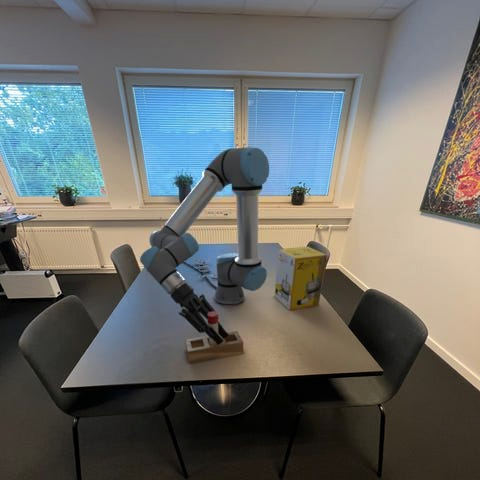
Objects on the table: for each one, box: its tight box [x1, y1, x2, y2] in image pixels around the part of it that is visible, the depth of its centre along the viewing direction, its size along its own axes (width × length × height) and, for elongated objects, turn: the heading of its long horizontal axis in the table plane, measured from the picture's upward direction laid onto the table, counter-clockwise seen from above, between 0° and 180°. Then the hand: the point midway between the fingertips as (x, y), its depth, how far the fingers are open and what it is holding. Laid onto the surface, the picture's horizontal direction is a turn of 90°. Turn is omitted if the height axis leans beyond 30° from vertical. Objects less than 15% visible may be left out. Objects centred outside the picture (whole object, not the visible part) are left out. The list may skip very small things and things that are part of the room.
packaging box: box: [274, 246, 328, 311], centre depth 126 cm, size 16×16×25 cm
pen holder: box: [184, 330, 244, 364], centre depth 93 cm, size 8×20×5 cm, turn 107°
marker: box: [207, 311, 219, 345], centre depth 90 cm, size 4×4×14 cm
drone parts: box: [194, 258, 217, 279], centre depth 171 cm, size 23×35×3 cm, turn 12°
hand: (223, 339), depth 90 cm, fingers closed on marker, 3 cm apart
